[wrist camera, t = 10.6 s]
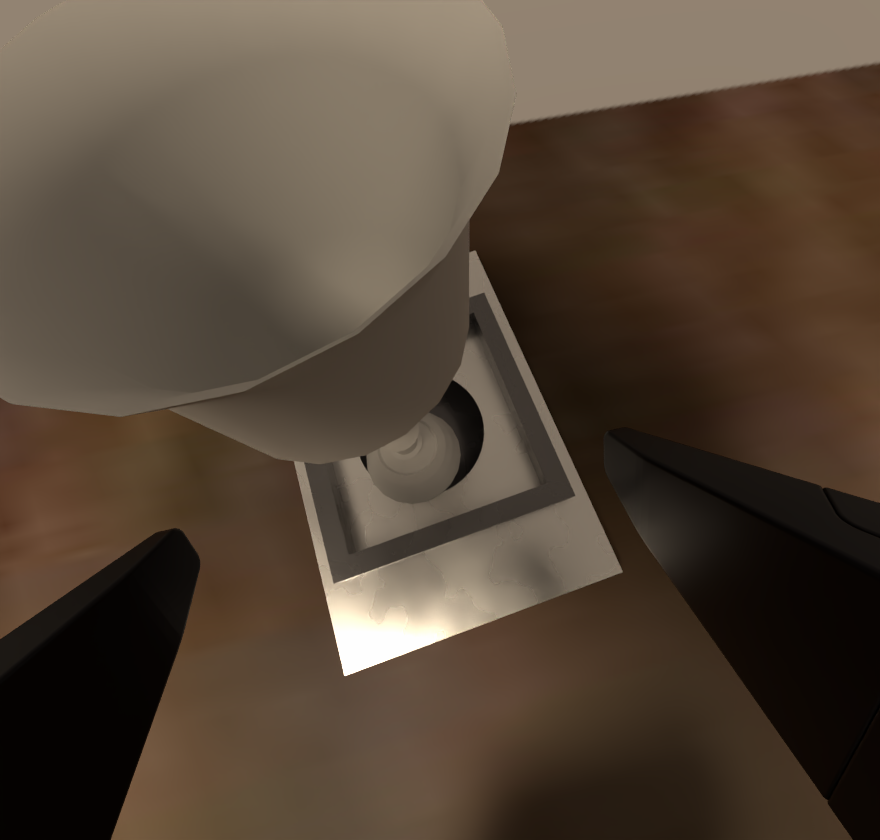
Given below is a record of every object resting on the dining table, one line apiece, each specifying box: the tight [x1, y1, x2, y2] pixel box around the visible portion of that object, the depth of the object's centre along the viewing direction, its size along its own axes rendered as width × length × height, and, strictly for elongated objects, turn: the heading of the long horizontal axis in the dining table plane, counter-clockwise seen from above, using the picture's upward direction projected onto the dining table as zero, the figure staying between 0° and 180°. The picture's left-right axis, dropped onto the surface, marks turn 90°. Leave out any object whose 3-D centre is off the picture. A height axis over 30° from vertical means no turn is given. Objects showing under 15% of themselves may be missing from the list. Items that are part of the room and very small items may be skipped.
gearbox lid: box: [294, 251, 623, 676], centre depth 22 cm, size 20×14×2 cm
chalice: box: [0, 0, 516, 504], centre depth 13 cm, size 7×7×18 cm
